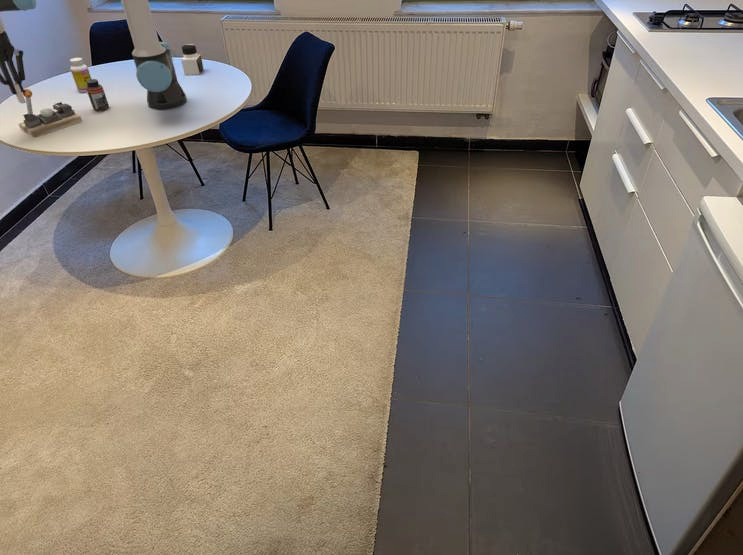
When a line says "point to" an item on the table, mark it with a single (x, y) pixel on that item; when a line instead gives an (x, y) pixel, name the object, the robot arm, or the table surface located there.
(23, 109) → the table surface
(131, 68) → the table surface
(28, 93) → the lever
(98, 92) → the supplement bottle
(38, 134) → the panel
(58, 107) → the rocker
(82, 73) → the supplement bottle
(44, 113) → the button
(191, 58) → the medicine bottle
